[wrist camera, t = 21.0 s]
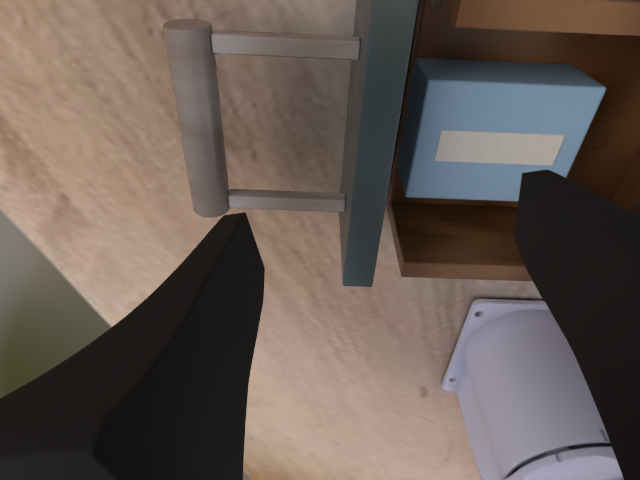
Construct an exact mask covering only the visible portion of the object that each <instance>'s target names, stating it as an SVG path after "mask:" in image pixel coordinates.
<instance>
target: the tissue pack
mask: <svg viewBox="0 0 640 480" xmlns="http://www.w3.org/2000/svg"><path fill="white" fill-rule="evenodd" d="M605 91H606V87H604V86H603V85H601V84H600V83H599V82H597V81H596V80H594V79H593V78H591V77H590V76H588V75H587V74H585V73H584V72H582V71H581V70H579V69H578V68H576V67H575V66H573V65H571V64H549V63H527V62H505V61H483V60H461V59H439V58H416V59H415V62H414V68H413V73H412V79H411V85H410V91H409V97H408V103H407V109H406V114H405V120H404V126H403V132H402V138H401V144H400V149H399V155H398V161H397V167H398V171H399V175H400V178H401V182H402V186H403V189H404V193H405V196H406V197H413V198H440V199H466V200H492V201H518V200H519V193H520V185H521V178H522V173H526V172H533V171H540V170H547V169H548V170H550V171H552V172H555V173H557V174H559V175H561V176H563V177H565V178H566V177H567V175H568V173H569V171H570V168H571V166H572V164H573V162H574V160H575V157H576V155H577V153H578V151H579V149H580V146H581V144H582V142H583V140H584V138H585V135H586V133H587V131H588V129H589V127H590V124H591V122H592V120H593V118H594V116H595V113H596V111H597V109H598V107H599V105H600V102H601V100H602V98H603V96H604V94H605Z"/></svg>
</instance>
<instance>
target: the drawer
mask: <svg viewBox="0 0 640 480" xmlns="http://www.w3.org/2000/svg"><path fill="white" fill-rule="evenodd" d="M418 2H419V0H357V1H356V13H355V25H354V37H352V36H331V35H309V34H287V33H266V32H244V31H222V30H215V31H214V32H213V31H212V25H211V24H210V23H209V22H206V21H203V20H197V19H179V20H172V21H169V22H166V23H165V24H164V25H163V30H164V36H165V42H166V48H167V54H168V60H169V66H170V72H171V78H172V84H173V90H174V95H175V101H176V107H177V113H178V119H179V125H180V131H181V137H182V143H183V149H184V155H185V161H186V166H187V172H188V178H189V184H190V190H191V196H192V202H193V208H194V211H195V212H196V213H197V214H198V215H200V216H203V217H217V216H221V215H223V214H225V213H226V212H228V210H229V209H230V208H249V209H276V210H303V211H329V212H339V220H340V239H341V258H342V277H343V286H364V287H372V285H373V278H374V272H375V266H376V260H377V254H378V248H379V242H380V235H381V229H382V223H383V217H384V211H385V205H386V199H387V193H388V186H389V180H390V174H391V168H392V162H393V156H394V150H395V143H396V137H397V131H398V125H399V119H400V113H401V107H402V101H403V94H404V88H405V82H406V76H407V70H408V64H409V58H410V52H411V45H412V39H413V33H414V27H415V21H416V15H417V9H418ZM215 54H233V55H256V56H278V57H300V58H322V59H345V60H352V61H351V73H350V85H349V97H348V109H347V121H346V133H345V145H344V157H343V169H342V181H341V192H340V193H324V192H298V191H272V190H246V189H230V192H229V185H228V175H227V166H226V156H225V147H224V137H223V127H222V118H221V108H220V99H219V89H218V79H217V70H216V60H215ZM416 58H439V59H461V60H483V61H505V62H527V63H549V64H571V65H573V66H575V67H576V68H578V69H579V70H581V71H582V72H584V73H585V74H587V75H588V76H590V77H591V78H593V79H594V80H596V81H597V82H599V83H600V84H601V85H603V86H604V87H606V91H605V94H604V96H603V98H602V100H601V102H600V105H599V107H598V109H597V111H596V113H595V116H594V118H593V120H592V122H591V124H590V127H589V129H588V131H587V133H586V135H585V138H584V140H583V142H582V144H581V146H580V149H579V151H578V153H577V155H576V157H575V160H574V162H573V164H572V166H571V168H570V171H569V173H568V175H567V177H566V178H567V179H569V180H571V181H573V182H575V183H577V184H579V185H581V186H583V187H585V188H587V189H589V190H591V191H592V192H594V193H596V194H598V195H600V196H602V197H604V198H606V199H608V200H610V201H612V202H614V203H616V204H618V205H620V206H622V207H624V208H626V209H629V210H631V211H632V209H633V208H634V206H635V204H636V203H637V201H638V199H639V198H640V0H421V1H420V7H419V13H418V19H417V25H416V31H415V37H414V43H413V49H412V55H411V61H410V67H409V73H408V79H407V85H406V91H405V98H404V104H403V110H402V116H401V122H400V128H399V134H398V140H397V146H396V152H395V158H394V164H393V170H392V176H391V182H390V188H389V194H388V200H387V210H388V215H389V220H390V224H391V229H392V234H393V239H394V244H395V248H396V253H397V258H398V263H399V268H400V272H401V276H402V277H423V278H452V279H482V280H511V281H533V280H532V279H531V277H530V275H529V273H528V271H527V270H526V267H525V265H524V262H523V260H522V258H521V255H520V252H519V250H518V247H517V244H516V242H515V239H514V230H515V223H516V215H517V208H518V201H492V200H466V199H440V198H413V197H406V196H405V193H404V189H403V186H402V182H401V178H400V175H399V171H398V167H397V161H398V155H399V149H400V144H401V138H402V132H403V126H404V120H405V114H406V109H407V103H408V97H409V91H410V85H411V79H412V73H413V68H414V62H415V59H416Z"/></svg>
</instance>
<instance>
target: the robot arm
mask: <svg viewBox="0 0 640 480" xmlns="http://www.w3.org/2000/svg"><path fill="white" fill-rule="evenodd" d="M514 239H515V242H516V244H517V247H518V250H519V252H520V255H521V258H522V260H523V262H524V265H525V267H526V270H527V271H528V273H529V275H530V277H531V279H532V280H533V282H534V284H535V286H536V287H537V289H538V291H539V293H540V294H541V296H542V298H543V300H544V301H532V300H502V299H478V300H475V301H474V302H473V303H472V305H471V307H470V310H469V313H468V315H467V318H466V321H465V323H464V326H463V329H462V331H461V334H460V337H459V339H458V342H457V345H456V347H455V350H454V353H453V355H452V358H451V361H450V363H449V366H448V368H447V371H446V374H445V376H444V379H443V382H442V388H443V390H445V391H453V392H456V393H457V397H458V400H459V404H460V408H461V412H462V415H463V419H464V423H465V426H466V430H467V434H468V438H469V441H470V445H471V449H472V452H473V456H474V460H475V464H476V467H477V469H478V472H479V474H480V476H481V478H482V480H640V215H639V214H637V213H635V212H633V211H631V210H629V209H626V208H624V207H622V206H620V205H618V204H616V203H614V202H612V201H610V200H608V199H606V198H604V197H602V196H600V195H598V194H596V193H594V192H592V191H591V190H589V189H587V188H585V187H583V186H581V185H579V184H577V183H575V182H573V181H571V180H569V179H567V178H565V177H563V176H561V175H559V174H557V173H555V172H552V171H550V170H548V169H547V170H540V171H533V172H526V173H522V178H521V185H520V193H519V200H518V208H517V215H516V223H515V230H514ZM264 270H265V268H264V265H263V262H262V259H261V256H260V253H259V251H258V248H257V245H256V242H255V239H254V236H253V233H252V230H251V227H250V224H249V221H248V218H247V215H246V212H245V213H238V214H231V215H224V216H223V217H222V218H221V219H220V220H219V221H218V222H217V224H216V225H215V226H214V227H213V228H212V229H211V230H210V232H209V233H208V234H207V235H206V236H205V238H204V239H203V240H202V241H201V242H200V243H199V244H198V246H197V247H196V248H195V249H194V250H193V251H192V252H191V254H190V255H189V256H188V257H187V258H186V259H185V260H184V261H183V263H182V264H181V265H180V266H179V267H178V268H177V269H176V270H175V271H174V272H173V273H172V274H171V275H170V276H169V277H168V278H167V279H166V280H165V281H164V282H163V283H162V284H161V285H160V286H159V287H158V288H157V289H156V290H155V291H154V292H153V293H152V294H151V295H150V296H149V297H148V298H147V299H146V300H144V301H143V302H142V303H141V304H140V305H139V306H138V307H136V308H135V309H134V310H133V311H132V312H131V313H129V314H128V315H127V316H126V317H125V318H123V319H122V320H121V321H120V322H118V323H117V324H116V325H114V326H113V327H112V328H110V329H109V330H108V331H106V332H105V333H104V334H102V335H101V336H100V337H99V338H97V339H96V340H94V341H93V342H92V343H90V344H89V345H87V346H86V347H85V348H83V349H82V350H80V351H79V352H77V353H76V354H74V355H73V356H71V357H70V358H68V359H67V360H65V361H64V362H62V363H60V364H59V365H57V366H56V367H54V368H52V369H51V370H49V371H48V372H46V373H44V374H43V375H41V376H40V377H38V378H36V379H34V380H33V381H31V382H29V383H27V384H26V385H24V386H22V387H20V388H18V389H17V390H15V391H13V392H11V393H9V394H8V395H6V396H4V397H2V398H1V399H0V480H243V455H244V437H245V419H246V406H247V393H248V383H249V376H250V369H251V364H252V358H253V353H254V348H255V342H256V337H257V332H258V326H259V321H260V315H261V310H262V304H263V294H264Z"/></svg>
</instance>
